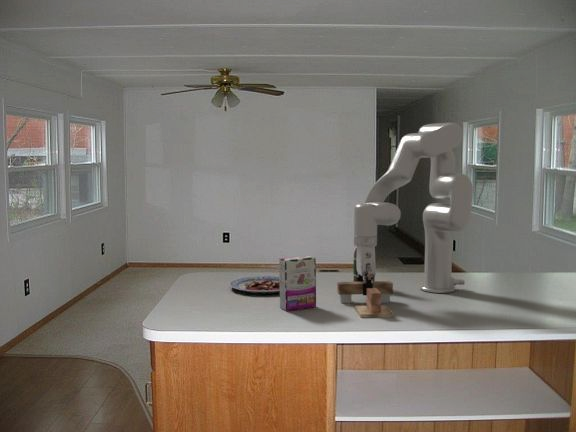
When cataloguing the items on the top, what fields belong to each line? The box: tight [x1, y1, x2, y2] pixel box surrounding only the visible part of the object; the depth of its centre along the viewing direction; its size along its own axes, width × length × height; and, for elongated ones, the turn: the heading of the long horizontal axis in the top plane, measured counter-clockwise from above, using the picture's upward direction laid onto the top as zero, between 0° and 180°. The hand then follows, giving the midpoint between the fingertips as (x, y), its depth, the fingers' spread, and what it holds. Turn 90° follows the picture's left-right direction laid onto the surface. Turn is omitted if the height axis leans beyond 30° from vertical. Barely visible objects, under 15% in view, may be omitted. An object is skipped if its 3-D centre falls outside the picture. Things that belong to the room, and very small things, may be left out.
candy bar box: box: [278, 255, 317, 312], centre depth 186 cm, size 11×5×16 cm, turn 117°
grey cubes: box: [339, 294, 391, 304], centre depth 194 cm, size 16×2×3 cm, turn 94°
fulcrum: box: [354, 288, 394, 318], centre depth 180 cm, size 10×10×7 cm
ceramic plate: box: [229, 275, 280, 295], centre depth 215 cm, size 26×26×3 cm
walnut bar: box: [336, 280, 394, 296], centre depth 194 cm, size 18×4×4 cm, turn 94°
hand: (364, 291), depth 194 cm, fingers open, 9 cm apart
